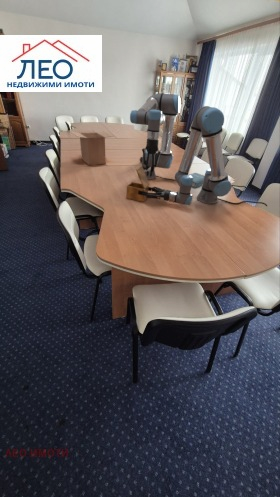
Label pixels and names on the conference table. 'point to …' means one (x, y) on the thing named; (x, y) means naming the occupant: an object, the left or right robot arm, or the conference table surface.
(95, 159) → the box
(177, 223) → the conference table surface
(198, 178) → the book
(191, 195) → the right robot arm
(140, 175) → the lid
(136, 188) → the chest
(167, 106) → the left robot arm
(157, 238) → the conference table surface
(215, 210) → the conference table surface
